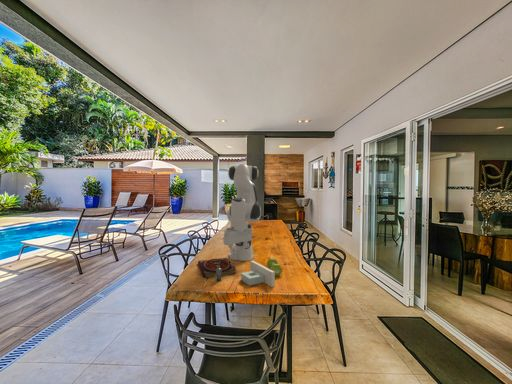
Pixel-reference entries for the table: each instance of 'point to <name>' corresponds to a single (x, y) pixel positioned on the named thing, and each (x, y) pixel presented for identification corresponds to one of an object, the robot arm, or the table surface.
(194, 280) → the table surface
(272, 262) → the dumbbell
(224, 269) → the book
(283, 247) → the table surface
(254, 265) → the wall
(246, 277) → the sliding block
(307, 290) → the table surface
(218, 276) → the dowel
